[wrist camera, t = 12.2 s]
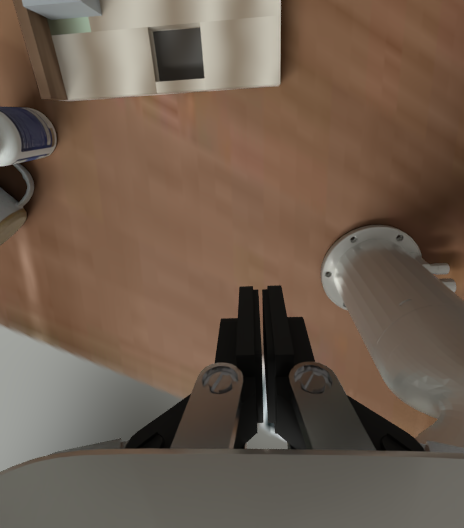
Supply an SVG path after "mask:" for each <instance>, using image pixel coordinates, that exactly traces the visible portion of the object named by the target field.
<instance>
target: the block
mask: <svg viewBox="0 0 464 528" xmlns="http://www.w3.org/2000/svg"><path fill="white" fill-rule="evenodd" d="M22 3H23V7H25V8H27V9H30V10H32V11H34V12H36V13H38V14H40V15H42V16H44V17H46V18H48V19H50V20H56V19H68V18H80V17H91V16H102V12H101V7H100V1H99V0H22Z"/></svg>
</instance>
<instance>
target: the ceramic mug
mask: <svg viewBox="0 0 464 528" xmlns="http://www.w3.org/2000/svg"><path fill="white" fill-rule="evenodd" d="M12 165H13V166H15V167H16V168H17V169H18V170H19V172H20V173H21V174H22V176H23V179H24V180H25V181H26V184H27V190H26V194H25V195H24V197H23V198H22V200H20V202H18V201H16V200H15V199H14V198H13V197H12V196H10V195H9V194H8V193H6V192H5V191H4V190H3V189H2V188H1V187H0V245H1V244H3V243H4V242H5V241H7V240H8V239H9V238H10V237H11V236H12V235H13V234H15V233H16V232H17V231H18V229H19V228H20V227H21V226H22V225H23V224H24V222H25V220H26V218H27V213H26V211H25V210H24V208H23V206H24V205H25V204H26V203H27V202H28V201H29V200H30V198H31V196H32V195H33V191H34V182H33V179H32V176H31V174H30V173H29V172H28V171H27V170H26V168H25V167H23V166H22V165H21V164H19V163H17V164H12Z"/></svg>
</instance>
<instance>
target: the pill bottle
mask: <svg viewBox="0 0 464 528" xmlns="http://www.w3.org/2000/svg"><path fill="white" fill-rule="evenodd" d="M56 142H57V137H56V132H55V129H54V127H53V125H52V123H51V122H50V121H49V119H48V118H47V117H46V116H45V115H44V114H42V113H41V112H39V111H37V110H35V109H32V108H25V107H0V166H8V165H12V164H17V163H21V162H26V161H31V160H35V159H40V158H44V157H47V156H49V155H50V154H51V153H52V152H53V151H54V149H55V147H56Z"/></svg>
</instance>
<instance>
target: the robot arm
mask: <svg viewBox="0 0 464 528" xmlns="http://www.w3.org/2000/svg"><path fill="white" fill-rule="evenodd" d="M397 236H398V237H397ZM352 237H353V238H352ZM351 238H352V239H351ZM449 269H450V268H449V265H448V264H447V263H435V264H428V262H426V261H425V260H424V259H422V255H421V252H420V249H419V247H418V245H417V244H416V242H415V241H414V240H413V239H412V238H411V237H410V236H409V235H407V234H406V233H404V232H403V231H401V230H400V229H397V228H394V227H392V226H387V225H369V226H364V227H360V228H357V229H355V230H352V231H350V232H349V233H347V234H345V235H344V236H342V237H341V238H340V239H339V240H337V241H336V242H335V243H334V244H333V245H332V247H331V248H330V249H329V250H328V252H327V254H326V255H325V257H324V260H323V263H322V266H321V282H322V285H323V288H324V290H325V292H326V294H327V296H328V297H329V298H330V299H331V301H333V302H334V303H335V304H336V305H337V306H339V307H341V308H343V309H345V310H348V312H349V314H350V316H351V317H352V319H353V321H354V323H355V325H356V327H357V329H358V331H359V333H360V335H361V337H362V339H363V341H364V343H365V345H366V347H367V349H368V351H369V353H370V355H371V357H372V359H373V361H374V363H375V365H376V367H377V369H378V370H379V372H380V374H381V376H382V378H383V380H384V381H385V383H386V385H387V386H388V387H389V389H390V390H391V391H392V392H393V393H394V394H395V395H396V396H397V397H398V398H399V399H401V400H402V401H403V402H405V403H406V404H408V405H409V406H411V407H413V408H414V409H416V410H418V411H420V412H423V413H425V414H427V415H429V416H432V417H434V418H437V419H438V420H437V421H436V422H435V423H434V424H433V425H431V426H430V427H428V428H427V429H426V430H424V431H423V432H421V433H420V434H419V435H418V436H417V437H416V438H414V437H412V436H411V435H410V434H408V433H407V432H405V431H404V430H402V429H400V428H399V427H397V426H396V425H394V424H392V423H391V422H389V421H388V420H386V419H384V418H383V417H381V416H380V415H378V414H376V413H375V412H373V411H372V410H370V409H368V408H367V407H365V406H364V405H362V404H360V403H359V402H357V401H356V400H354V399H352V398H351V397H349V396H347V395H346V393H345V391H344V389H343V388H342V386H341V384H340V382H339V380H338V378H337V376H336V375H335V374H334V372H333V371H332V370H331V369H330V368H328V367H327V366H325V365H323V364H320V363H316V362H315V360H314V356H313V353H312V349H311V345H310V341H309V338H308V334H307V330H306V326H305V323H304V319H303V317H287V314H286V309H285V303H284V298H283V293H282V288H281V286H268V287H267V289H265V290H262V296H263V345H264V362H265V378H266V394H267V410H268V423H274V424H275V433H278V434H279V435H280V436H281V437H282V438H283V439H285V440H286V441H287V447H288V449H247V442H248V441H249V440H250V439H251V438H252V437H253V436H254V435H255V434H256V433H257V423H263V389H262V352H261V333H260V314H259V296H258V290H253V286H246V287H240V288H239V307H238V318H229V319H221V322H220V329H219V336H218V343H217V351H216V358H215V364H211V365H209V366H207V367H205V368H204V369H203V370H202V371H201V372H200V374H199V376H198V378H197V380H196V383H195V385H194V388H193V390H192V393H191V394H190V395H189V396H187V397H186V398H185V399H183V400H182V401H180V402H179V403H177V404H176V405H175V406H174V407H172V408H170V409H169V410H168V411H166V412H165V413H164V414H162V415H160V416H159V417H158V418H156V419H155V420H154V421H152V422H151V423H149V424H148V425H146V426H145V427H144V428H142V429H141V430H139V431H138V432H137V433H136V434H135V435H133V436H132V437H131V439H130V440H128V441H124V442H122V439H121V438H119V439H114V440H110V441H105V442H100V443H96V444H91V445H86V446H82V447H77V448H72V449H68V450H63V451H58V452H55V453H52V454H50V455H47V456H43V457H39V458H35V459H32V460H29V461H27V462H24V463H21V464H18V465H15V466H12V467H10V468H8V469H6V470H3V471H1V472H0V528H464V301H463V300H462V299H461V298H460V297H459V296H457V295H456V294H455V293H454V292H455V291H456V283H455V281H454V280H453V279H451V278H449V279H438V278H437V277H435V276H434V275H433V274H448V273H449ZM326 272H327V273H326Z"/></svg>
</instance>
